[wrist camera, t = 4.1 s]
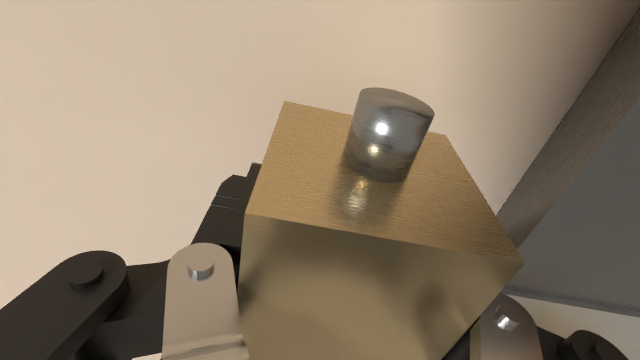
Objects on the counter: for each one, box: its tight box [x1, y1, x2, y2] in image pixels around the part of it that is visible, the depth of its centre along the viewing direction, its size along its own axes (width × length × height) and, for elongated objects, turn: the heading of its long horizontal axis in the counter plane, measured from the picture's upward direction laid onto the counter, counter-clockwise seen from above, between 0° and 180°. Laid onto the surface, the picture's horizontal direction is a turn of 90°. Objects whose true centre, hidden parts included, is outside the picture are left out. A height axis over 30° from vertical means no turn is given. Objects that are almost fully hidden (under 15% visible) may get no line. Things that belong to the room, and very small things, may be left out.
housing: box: [237, 88, 525, 360], centre depth 9 cm, size 8×5×5 cm, turn 168°
